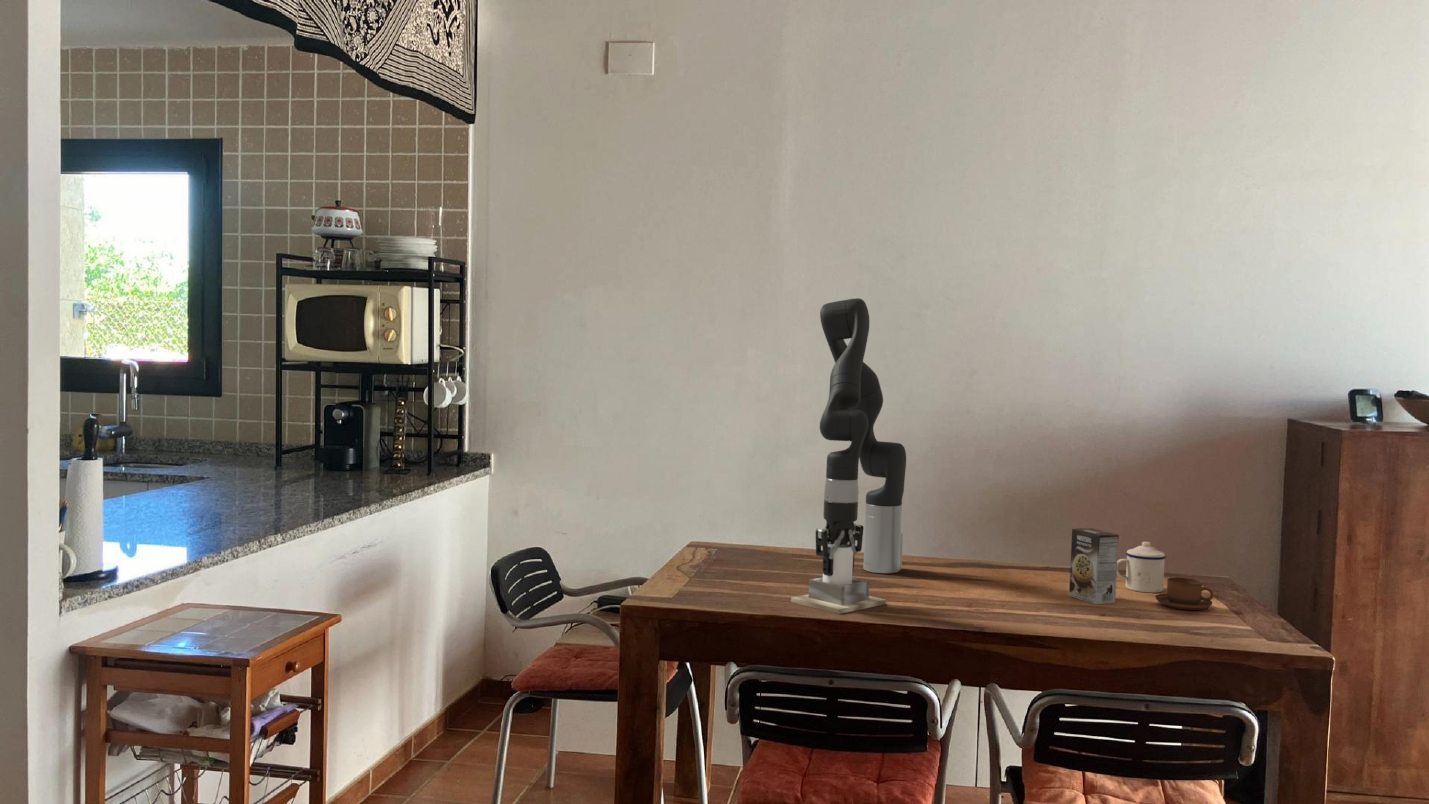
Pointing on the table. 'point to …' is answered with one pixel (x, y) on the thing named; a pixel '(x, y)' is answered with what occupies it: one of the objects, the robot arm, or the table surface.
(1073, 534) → the coffee box
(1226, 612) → the table surface
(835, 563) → the can
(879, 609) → the table surface
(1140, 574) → the teacup with lid
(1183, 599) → the cup and saucer
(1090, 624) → the table surface
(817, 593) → the socket
